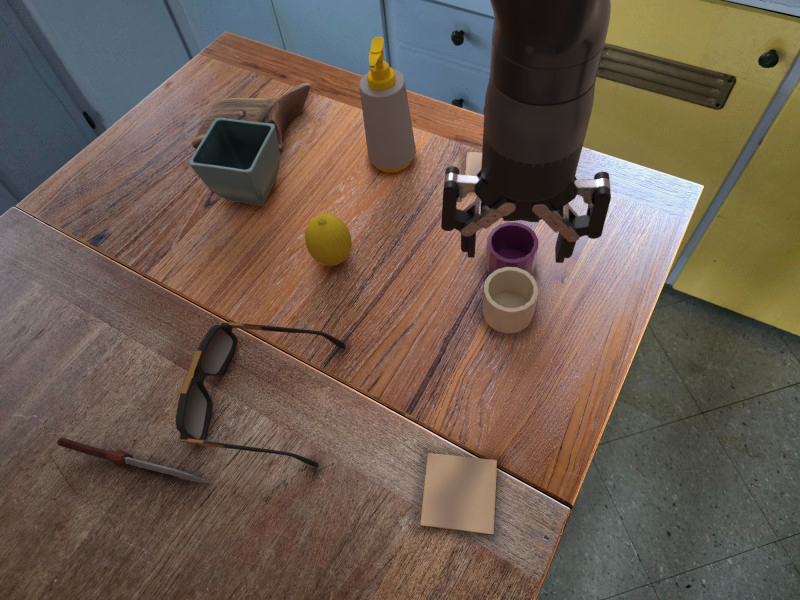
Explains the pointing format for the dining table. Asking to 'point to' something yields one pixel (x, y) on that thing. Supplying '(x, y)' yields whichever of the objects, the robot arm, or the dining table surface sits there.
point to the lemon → (328, 239)
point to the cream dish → (509, 299)
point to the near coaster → (459, 493)
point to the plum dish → (511, 247)
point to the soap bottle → (386, 113)
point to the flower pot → (238, 160)
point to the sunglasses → (213, 363)
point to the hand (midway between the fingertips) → (515, 253)
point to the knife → (126, 459)
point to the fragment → (258, 111)
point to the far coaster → (473, 163)
